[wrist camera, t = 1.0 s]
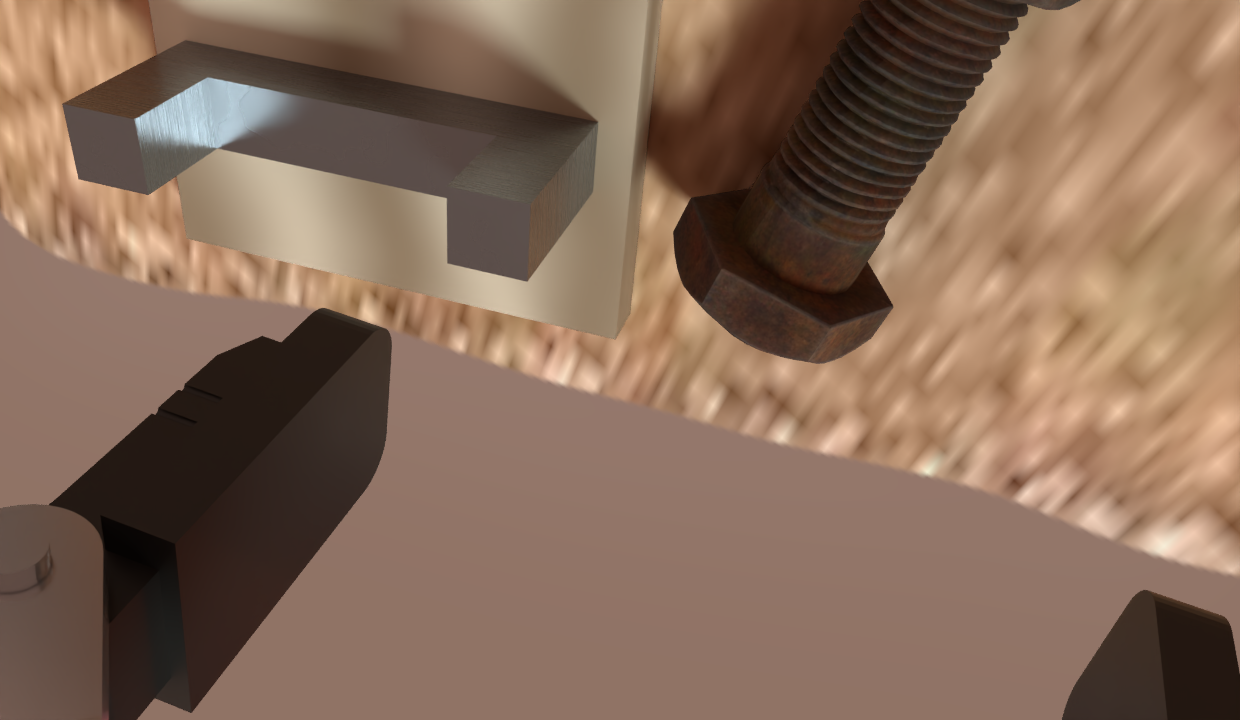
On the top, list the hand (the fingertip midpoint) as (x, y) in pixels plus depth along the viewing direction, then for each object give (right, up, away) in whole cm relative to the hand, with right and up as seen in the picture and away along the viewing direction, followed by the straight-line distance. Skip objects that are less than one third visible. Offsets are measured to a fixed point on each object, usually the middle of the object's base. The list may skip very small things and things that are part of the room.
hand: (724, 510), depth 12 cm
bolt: (+6, +10, +15) cm, 19 cm away
